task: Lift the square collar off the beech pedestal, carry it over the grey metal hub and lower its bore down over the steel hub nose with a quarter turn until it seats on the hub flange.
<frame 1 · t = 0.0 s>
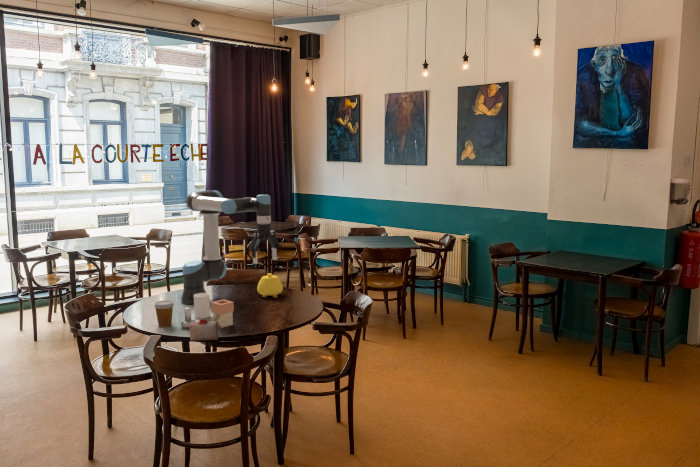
hand: (265, 261, 332), 28 cm above the table, fingers open, 13 cm apart
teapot: (270, 295, 374), on the table
collar: (222, 311, 310), point 7 cm above the table, touching pedestal
pedestal: (223, 324, 311), on the table
disposable coffee cup: (165, 325, 311), on the table
hub: (188, 327, 307), on the table
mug: (201, 315, 328), on the table
food item: (204, 339, 288), on the table
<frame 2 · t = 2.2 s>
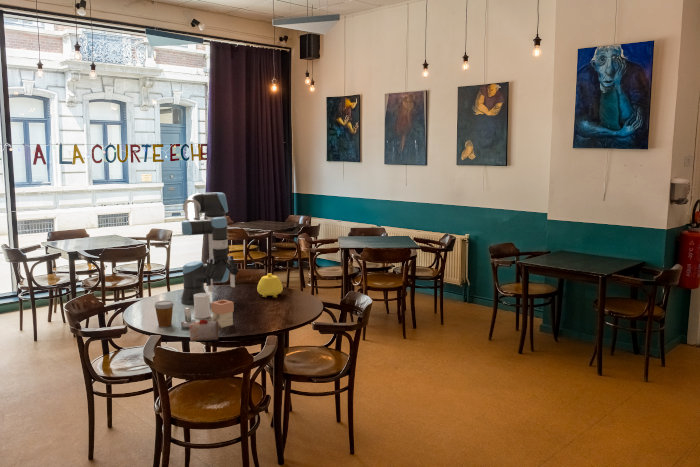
hand: (221, 289, 308), 19 cm above the table, fingers open, 13 cm apart
nothing on the table moved.
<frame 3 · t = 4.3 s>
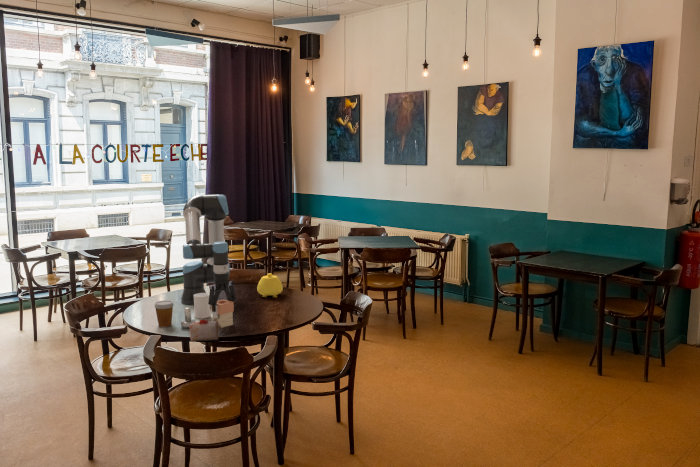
hand: (222, 315, 310), 5 cm above the table, fingers closed on collar, 8 cm apart
collar: (222, 311, 310), point 7 cm above the table, touching gripper, pedestal
everything else where it was.
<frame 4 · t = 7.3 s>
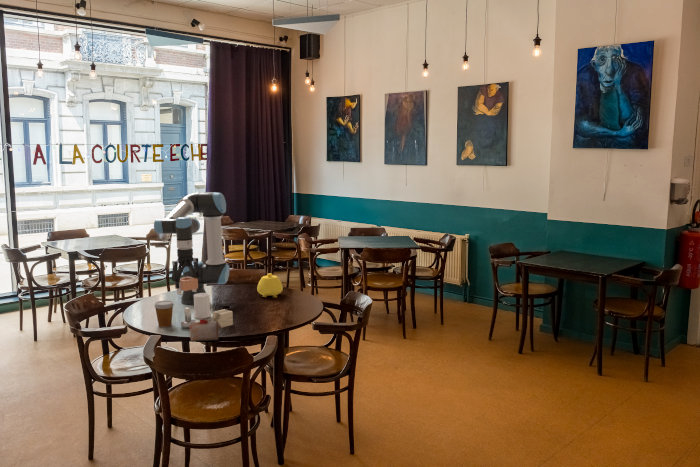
hand: (186, 292, 305), 18 cm above the table, fingers closed on collar, 8 cm apart
collar: (186, 288, 304), point 20 cm above the table, touching gripper
everything else where it was.
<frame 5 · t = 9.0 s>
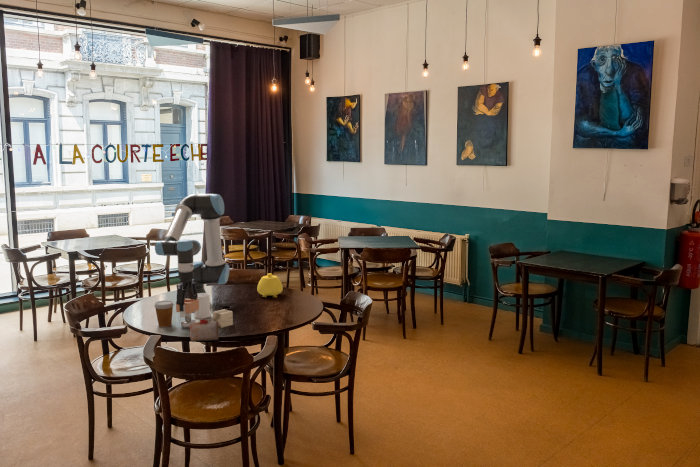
hand: (187, 314, 306), 6 cm above the table, fingers closed on collar, 8 cm apart
collar: (187, 310, 306), point 9 cm above the table, touching gripper
everything else where it was.
when the fingers open (3 cm above the table, at t = 10.5 s): collar drops 2 cm, resting on hub.
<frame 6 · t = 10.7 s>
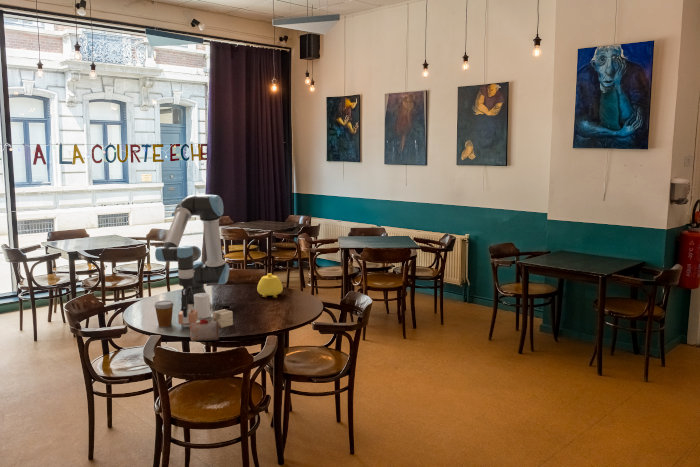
hand: (188, 319, 307), 4 cm above the table, fingers open, 10 cm apart
collar: (188, 321, 307), point 3 cm above the table, touching hub
everything else where it was.
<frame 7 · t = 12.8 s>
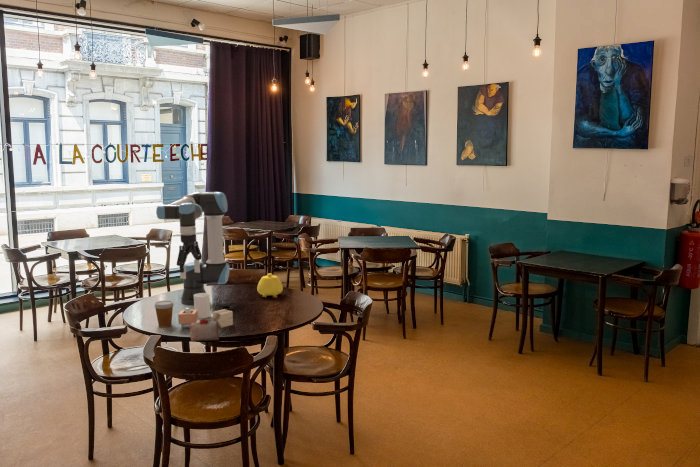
hand: (190, 275, 307), 26 cm above the table, fingers open, 13 cm apart
nothing on the table moved.
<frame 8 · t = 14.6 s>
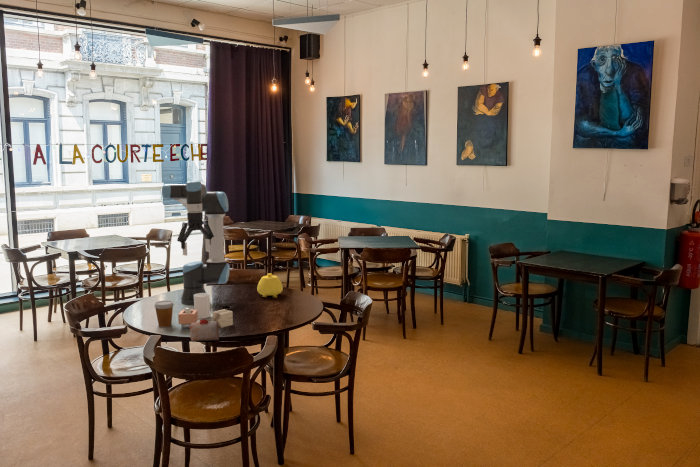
hand: (196, 253, 309), 37 cm above the table, fingers open, 13 cm apart
nothing on the table moved.
at the end: collar 0.1 cm off-centre on the hub, point 3.0 cm above the hub's base; the gripper is holding nothing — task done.
